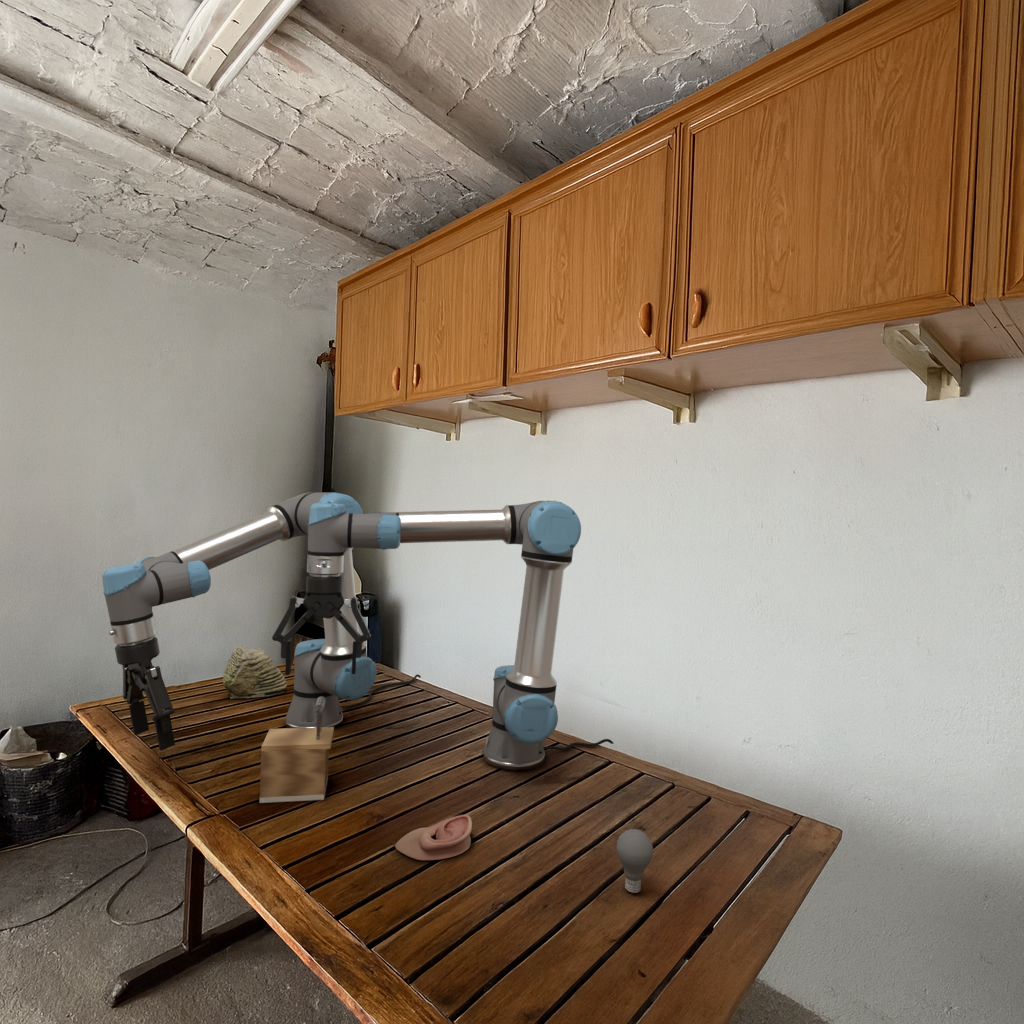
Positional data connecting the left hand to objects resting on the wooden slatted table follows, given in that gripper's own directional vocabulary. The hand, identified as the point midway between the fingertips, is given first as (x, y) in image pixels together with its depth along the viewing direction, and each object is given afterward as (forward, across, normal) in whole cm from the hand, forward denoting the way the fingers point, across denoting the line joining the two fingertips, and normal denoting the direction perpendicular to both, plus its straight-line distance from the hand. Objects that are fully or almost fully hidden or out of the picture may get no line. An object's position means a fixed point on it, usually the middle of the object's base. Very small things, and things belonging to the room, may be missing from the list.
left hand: (154, 739), depth 131 cm
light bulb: (+23, +88, +39) cm, 99 cm away
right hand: (-8, +21, +27) cm, 36 cm away
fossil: (+17, -49, +45) cm, 68 cm away
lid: (+6, +18, +22) cm, 29 cm away
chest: (+16, +17, +20) cm, 31 cm away
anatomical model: (+19, +54, +26) cm, 63 cm away
